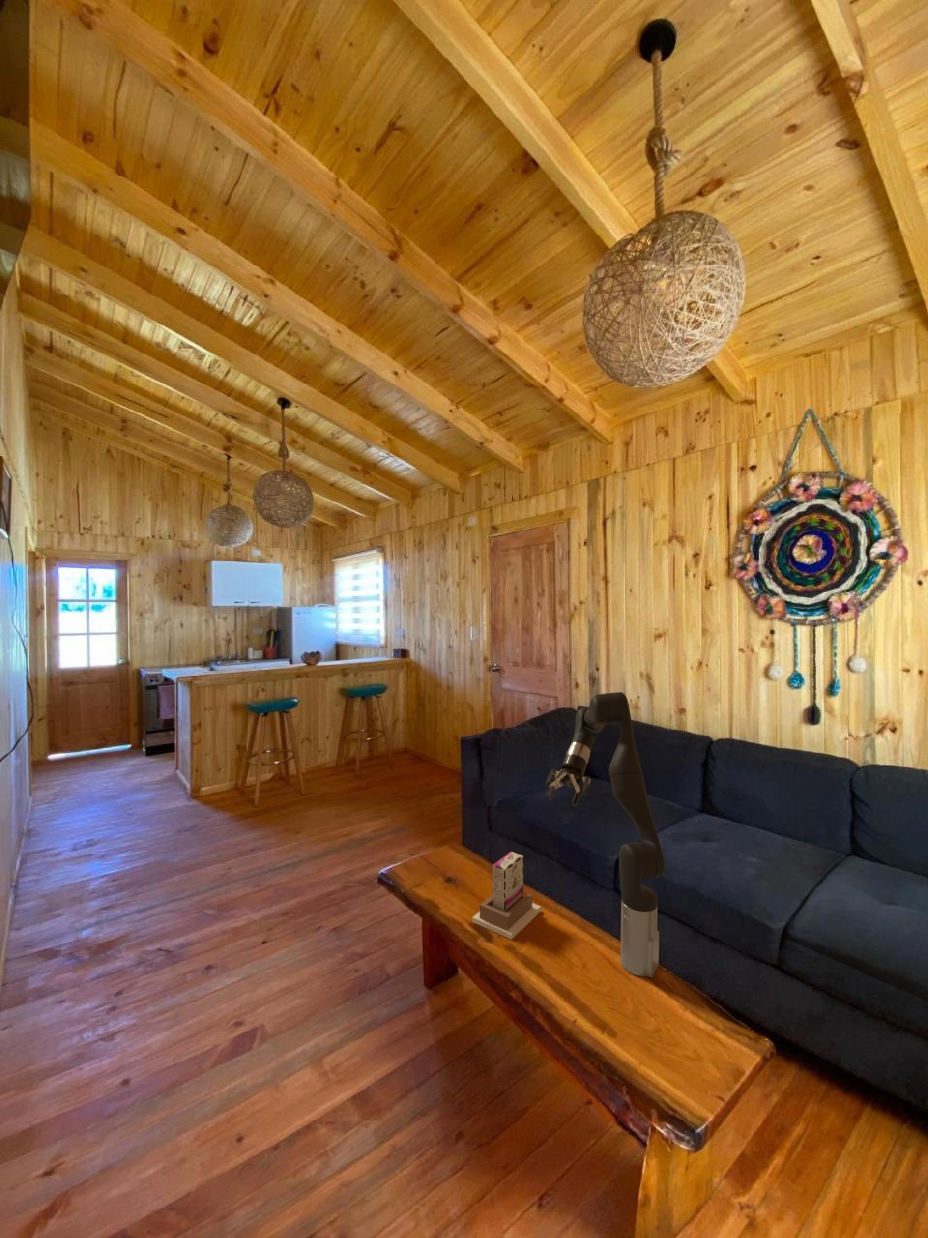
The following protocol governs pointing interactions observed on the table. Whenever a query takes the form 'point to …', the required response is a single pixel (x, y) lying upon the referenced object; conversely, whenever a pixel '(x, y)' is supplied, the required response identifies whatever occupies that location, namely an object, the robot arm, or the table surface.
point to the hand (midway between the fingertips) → (561, 802)
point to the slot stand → (506, 916)
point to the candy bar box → (507, 881)
